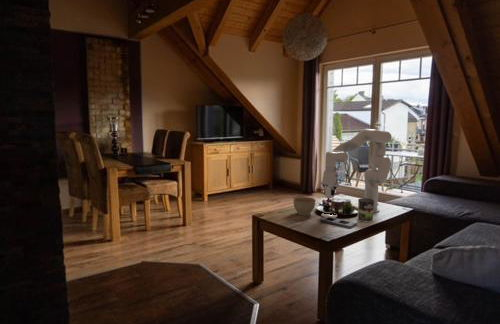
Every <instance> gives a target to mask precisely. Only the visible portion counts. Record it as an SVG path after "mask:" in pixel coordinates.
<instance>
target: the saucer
mask: <svg viewBox="0 0 500 324" xmlns="http://www.w3.org/2000/svg"><path fill="white" fill-rule="evenodd" d="M324 213H325V212H323V213H321V215H320V216H321V217H322V218H325V217H327V216H329V217H333V218H337V217H338V214H336V215H333V214H332V215H330V214H324Z"/></svg>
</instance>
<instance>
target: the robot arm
mask: <svg viewBox="0 0 500 324" xmlns="http://www.w3.org/2000/svg"><path fill="white" fill-rule="evenodd" d="M391 141H392V133H390V132H389V131H385V130H379V129H374V128H373V129H372V128H371V129H370V128H363V129H362V130H360V131H359V132H358V133H357V134H356V135H354V136H353V137H352V138H351V139H348V140H347V141H345V142H343V143H341V144H339V145H338V146H336V147H335V148H334V149H333V150H331V151H326V153H325V159H324V160H325V161H324V163H325V165H324V171H323V175H322V181H321V182H320V185H321V186H322V187H323V189H324V190H325V186H328V185H329V186H332V191H331V195H332V196H333V195H334V196H335V194H336V191H335V190H337V189H338V188H339V187H340V183H339V174H338V168H337V163H345V162H346V161H348V159H349V154H348V152H351V151H356V150H358V149H360V148H361V147H362V146H364V145H365V144H366V143H367V142H372V143H373V146H374V147H373V151H372V155H371V158H370V162H369V164H370V166H371V167H373V168H368V169H366V170H365V172H364V174H363V175H364V176H363V178H364V198H367V199H372V200H374V206H373V214H374V213H379V212H380V209H379V208H378V206H379V203H378V202H379V185H383V184H385V183H386V181H387V180H388V176H389V173H390V170H391V166H392V160H391V158H390V157H388V156H386V152H387V146H386V144H388V143H390V142H391ZM375 168H376V169H375Z"/></svg>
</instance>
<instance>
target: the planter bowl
mask: <svg viewBox="0 0 500 324" xmlns="http://www.w3.org/2000/svg"><path fill="white" fill-rule="evenodd" d="M292 201H293V207H294V209H295V211H296V213H297V214H298V215H299V216H304V217H305V216H310V215H311V213H312V212H313V211H314V209H315V206H316V199H315V198H313V197H307V196H298V197H294V198H293V199H292Z"/></svg>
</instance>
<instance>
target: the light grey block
mask: <svg viewBox="0 0 500 324" xmlns="http://www.w3.org/2000/svg"><path fill="white" fill-rule="evenodd" d="M331 191H332V186H330V185H328V186H325V189H324V198H326V199H330V200H331V199H333V198H335V194H334V195H333V196H332V195H331Z"/></svg>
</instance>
